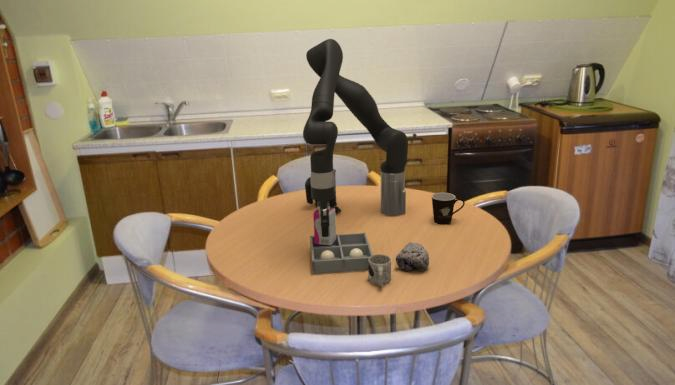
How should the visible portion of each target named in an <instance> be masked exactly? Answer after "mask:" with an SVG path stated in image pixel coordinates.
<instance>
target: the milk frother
mask: <svg viewBox="0 0 675 385" xmlns="http://www.w3.org/2000/svg"><path fill="white" fill-rule="evenodd" d="M333 172H334V184H335V197H334V199H332V200H329V201H327V202H329V205H330V208H335V214H338V213H340V212H342V209H341V208H339V206H337V205H338V203H337V188H336V187H337V185H336V184H337V182H336V180H337V179H336V173H337V170H336V169H335V168H333ZM304 190H305V197H306V199H305V200H306V203H308V204H309V205H313V204H314V205H315V207H316V208H318V207H317V202H319V201H315V200H313V199H312V197H311V176H309V177H308V178H307V179H306V181H305V183H304Z"/></svg>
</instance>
